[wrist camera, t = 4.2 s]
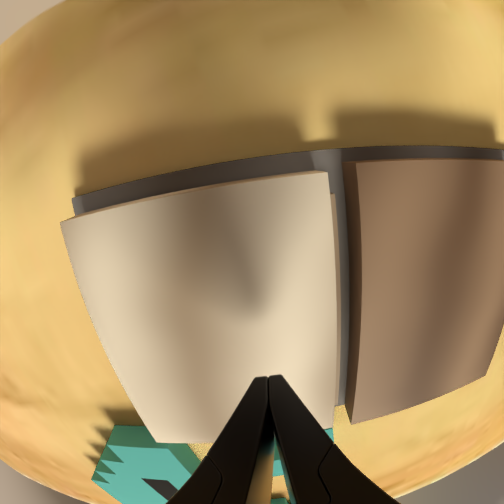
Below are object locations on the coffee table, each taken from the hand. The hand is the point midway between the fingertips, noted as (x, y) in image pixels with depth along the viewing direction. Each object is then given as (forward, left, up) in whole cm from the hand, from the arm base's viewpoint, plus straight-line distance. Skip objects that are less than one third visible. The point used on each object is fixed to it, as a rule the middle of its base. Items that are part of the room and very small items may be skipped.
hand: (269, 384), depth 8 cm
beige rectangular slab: (+2, 0, -3) cm, 4 cm away
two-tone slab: (-3, 0, -4) cm, 5 cm away
